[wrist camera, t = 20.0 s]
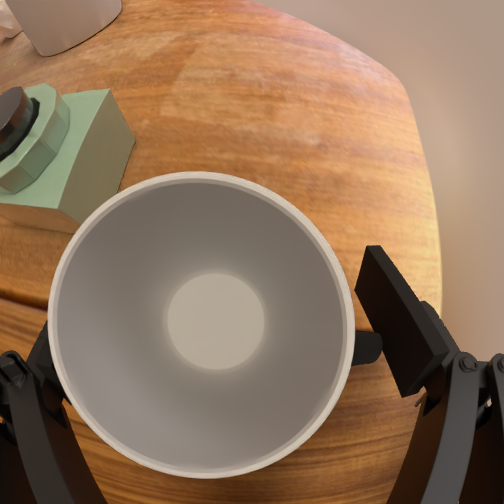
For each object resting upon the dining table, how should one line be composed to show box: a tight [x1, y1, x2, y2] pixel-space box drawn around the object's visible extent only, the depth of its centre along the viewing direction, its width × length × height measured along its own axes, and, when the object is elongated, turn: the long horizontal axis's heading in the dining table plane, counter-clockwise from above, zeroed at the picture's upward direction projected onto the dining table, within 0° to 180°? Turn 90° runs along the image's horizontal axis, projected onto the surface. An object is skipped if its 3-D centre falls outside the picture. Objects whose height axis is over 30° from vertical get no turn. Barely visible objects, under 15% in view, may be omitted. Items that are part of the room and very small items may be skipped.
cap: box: [0, 87, 39, 161], centre depth 10 cm, size 4×4×2 cm
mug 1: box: [0, 0, 22, 38], centre depth 19 cm, size 12×8×11 cm
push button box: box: [0, 83, 136, 234], centre depth 14 cm, size 10×8×8 cm
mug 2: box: [48, 171, 383, 479], centre depth 12 cm, size 12×9×10 cm
